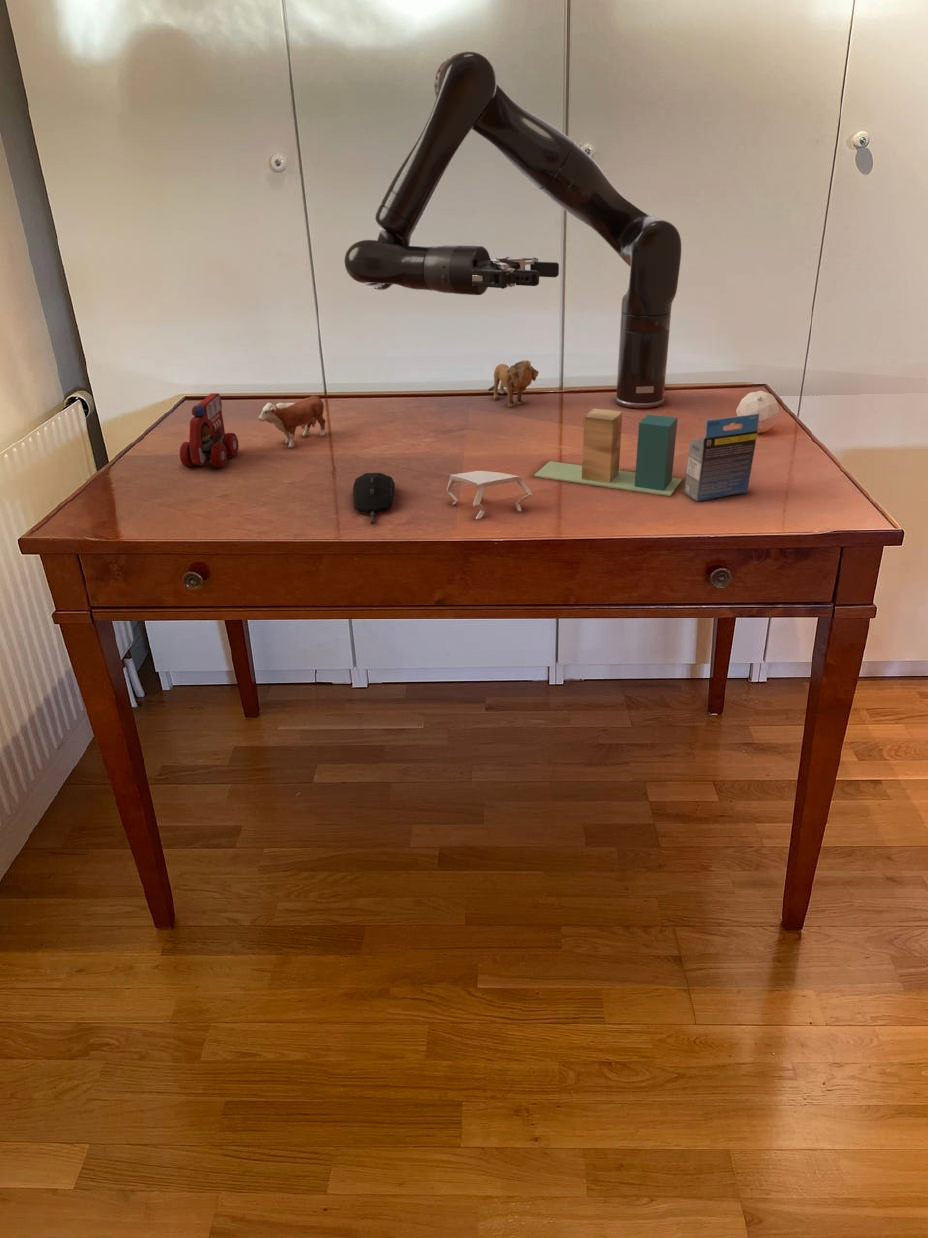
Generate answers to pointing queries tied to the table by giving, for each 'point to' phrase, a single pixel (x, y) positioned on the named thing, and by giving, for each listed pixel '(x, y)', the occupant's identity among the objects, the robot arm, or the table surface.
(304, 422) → the bull figurine
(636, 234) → the robot arm
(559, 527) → the table surface
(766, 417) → the ornament
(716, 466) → the label tape box
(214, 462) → the toy fire truck
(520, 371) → the lion figurine
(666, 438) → the teal block
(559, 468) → the sage strip
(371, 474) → the gaming mouse
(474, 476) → the beige toy table
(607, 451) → the birch block
